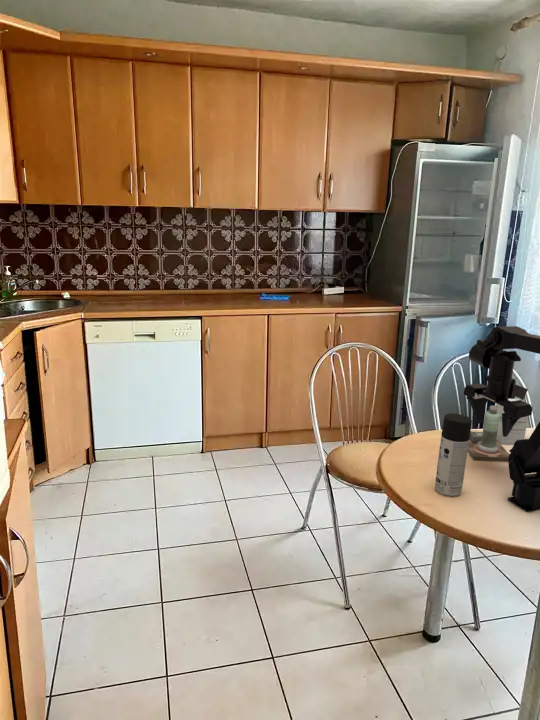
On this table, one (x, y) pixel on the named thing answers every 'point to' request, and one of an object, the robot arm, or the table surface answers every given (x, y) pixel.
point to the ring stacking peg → (490, 432)
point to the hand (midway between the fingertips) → (492, 429)
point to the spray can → (453, 454)
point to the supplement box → (516, 431)
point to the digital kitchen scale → (481, 456)
